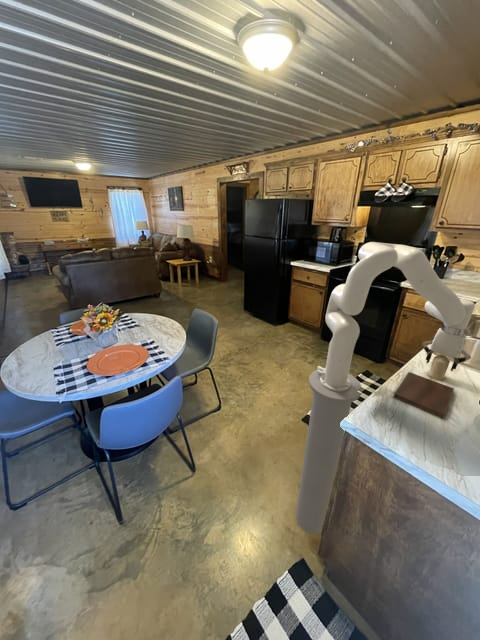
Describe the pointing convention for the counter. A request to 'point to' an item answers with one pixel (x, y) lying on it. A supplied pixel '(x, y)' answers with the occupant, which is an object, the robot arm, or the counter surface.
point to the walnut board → (424, 394)
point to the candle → (439, 367)
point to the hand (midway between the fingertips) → (439, 365)
